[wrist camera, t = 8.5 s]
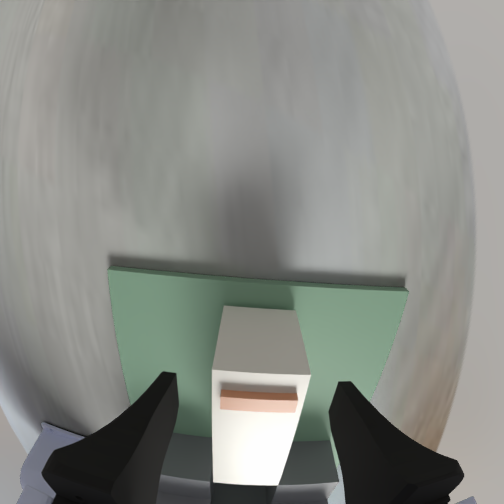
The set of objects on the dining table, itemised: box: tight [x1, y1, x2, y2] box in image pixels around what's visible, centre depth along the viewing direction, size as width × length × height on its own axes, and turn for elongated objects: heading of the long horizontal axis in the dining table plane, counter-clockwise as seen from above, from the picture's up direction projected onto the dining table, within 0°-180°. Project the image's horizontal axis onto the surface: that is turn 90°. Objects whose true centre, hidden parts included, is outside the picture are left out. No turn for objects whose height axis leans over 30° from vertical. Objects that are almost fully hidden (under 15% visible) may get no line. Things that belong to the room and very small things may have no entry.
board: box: [107, 266, 409, 468], centre depth 20 cm, size 18×22×1 cm
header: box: [156, 433, 339, 504], centre depth 19 cm, size 14×8×8 cm, turn 85°
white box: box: [212, 306, 311, 485], centre depth 16 cm, size 4×10×6 cm, turn 176°
